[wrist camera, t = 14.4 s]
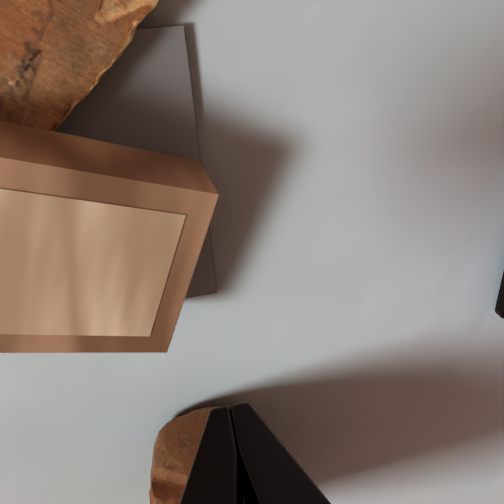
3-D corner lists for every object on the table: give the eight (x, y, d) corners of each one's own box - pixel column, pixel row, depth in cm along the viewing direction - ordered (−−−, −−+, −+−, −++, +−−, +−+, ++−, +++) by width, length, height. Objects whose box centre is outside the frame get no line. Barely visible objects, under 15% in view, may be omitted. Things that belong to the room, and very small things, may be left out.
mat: (183, 25, 17) (183, 25, 17) (216, 288, 23) (217, 293, 22) (-191, 55, 16) (-199, 56, 15) (-56, 330, 21) (-60, 335, 21)
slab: (219, 195, 16) (-87, 143, 12) (166, 353, 20) (-80, 353, 16) (200, 160, 18) (-62, 108, 14) (156, 308, 22) (-62, 298, 18)
